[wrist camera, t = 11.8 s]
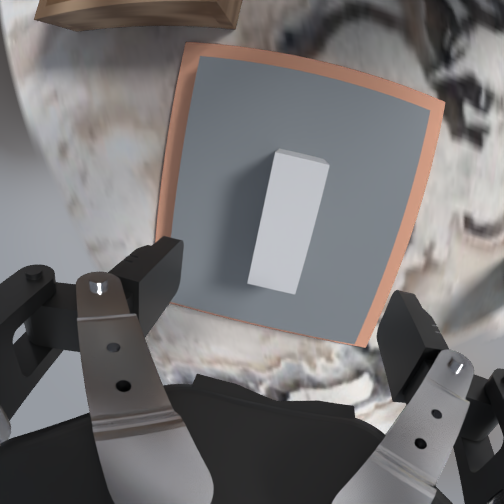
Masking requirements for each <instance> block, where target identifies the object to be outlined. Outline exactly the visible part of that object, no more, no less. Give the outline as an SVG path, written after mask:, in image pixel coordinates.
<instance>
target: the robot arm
mask: <svg viewBox="0 0 504 504" xmlns="http://www.w3.org/2000/svg"><path fill="white" fill-rule="evenodd" d="M183 250H184V242H183V240H179V239H175V238H171V237H167V236H163V237H161V238H160V239H159V240H158V241H157V242H156V243H154V244H153V245H152V246H150V245H146V246H144V247H141V248H138V249H136V250H135V251H133V252H132V253H131V254H130V256H127V257H126V258H125V259H124V261H123V260H122V261H121V262H120V263H119V264H118V265H116V266H115V267H114V268H113V269H112V270H110V271H109V272H108V273H107V272H91V273H87V274H85V275H83V276H81V277H80V278H79V279H78V280H77V282H76V284H66V283H58V282H56V281H55V273H54V270H53V269H52V268H50V267H48V266H45V265H30V266H26V267H24V268H22V269H20V270H18V271H17V272H16V273H15V274H13V275H12V276H10V277H9V278H8V279H6V280H5V281H3V282H2V283H1V284H0V504H452V502H450V500H449V499H448V498H447V497H446V496H445V495H444V494H442V492H441V491H440V490H439V489H438V488H437V487H436V483H437V480H438V478H439V476H440V474H441V472H442V470H443V468H444V466H445V464H446V462H447V460H448V457H449V455H450V453H451V451H452V448H454V452H455V457H456V461H457V466H458V470H459V475H460V480H461V485H462V490H463V496H464V502H465V504H504V440H503V444H502V447H501V449H500V450H499V451H498V452H497V453H496V454H495V455H494V452H493V449H492V446H491V443H490V440H489V437H488V435H489V433H490V432H491V431H492V430H493V429H494V428H495V427H496V425H497V424H498V423H499V425H500V427H501V430H502V433H503V436H504V369H496V370H495V371H494V372H493V374H492V375H491V376H490V378H489V379H485V378H483V377H479V376H477V375H474V367H473V365H472V363H471V362H470V361H469V359H467V358H466V357H465V356H464V355H462V354H461V353H459V352H456V351H453V350H449V348H448V346H447V344H446V342H445V340H444V338H443V337H442V335H441V333H440V331H439V329H438V327H437V326H436V324H435V322H434V320H433V318H432V317H431V316H430V315H429V314H428V313H427V312H426V311H425V310H424V309H423V308H422V306H421V305H420V303H419V301H418V299H417V298H416V296H415V294H412V293H408V292H403V291H399V290H396V291H395V292H394V293H393V294H392V296H391V299H390V301H389V304H388V306H387V308H386V311H385V313H384V315H383V318H382V320H381V322H380V324H379V327H378V331H377V342H378V345H379V349H380V352H381V356H382V360H383V364H384V368H385V372H386V376H387V380H388V384H389V388H390V392H391V396H392V400H393V402H402V403H406V407H405V408H404V409H403V411H402V412H401V414H400V415H399V416H398V418H397V419H396V421H395V422H394V423H393V425H392V426H391V428H390V429H389V430H388V432H387V433H386V434H384V433H382V432H381V431H380V430H378V429H377V428H376V427H374V426H372V425H370V424H369V423H367V422H365V421H362V420H360V419H357V418H355V412H354V406H350V405H343V404H336V403H329V402H323V401H276V400H272V399H270V398H267V397H265V396H263V395H260V394H258V393H256V392H253V391H251V390H249V389H246V388H244V387H242V386H240V385H237V384H234V383H230V382H226V381H222V380H219V379H215V378H211V377H207V376H204V375H200V374H197V375H196V377H195V380H194V382H193V384H171V385H164V386H163V384H162V382H161V380H160V377H159V374H158V372H157V369H156V367H155V364H154V362H153V359H152V357H151V354H150V351H149V349H148V346H147V343H146V340H145V337H146V335H147V334H148V332H149V331H150V330H151V328H152V327H153V325H154V324H155V323H156V321H157V320H158V318H159V317H160V316H161V314H162V313H163V311H164V310H165V309H166V307H167V306H168V304H169V303H170V302H171V300H172V299H173V297H174V296H175V295H176V293H177V291H178V288H179V285H180V280H181V270H182V260H183ZM22 323H24V324H25V328H26V332H25V333H24V334H23V335H22V336H21V337H20V338H19V339H18V340H17V341H16V342H15V343H14V344H13V343H12V341H13V335H14V333H15V331H16V330H17V329H18V327H20V326H21V325H22ZM63 350H69V351H77V352H80V354H81V362H82V369H83V376H84V383H85V389H86V394H87V400H88V406H89V411H90V412H89V413H87V414H84V415H81V416H78V417H76V418H73V419H70V420H67V421H64V422H61V423H59V424H55V425H52V426H49V427H46V428H43V429H40V430H37V431H34V432H31V433H27V434H24V435H21V436H17V437H14V438H11V439H9V437H10V434H11V424H10V419H11V418H12V416H13V415H14V414H15V412H16V411H17V410H18V408H19V407H20V406H21V404H22V403H23V401H24V400H25V399H26V397H27V396H28V395H29V393H30V392H31V391H32V389H33V388H34V387H35V386H36V384H37V383H38V382H39V380H40V379H41V378H42V376H43V375H44V374H45V372H46V371H47V370H48V369H49V367H50V366H51V365H52V364H53V362H54V361H55V360H56V359H57V358H58V356H59V355H60V354H61V353H62V351H63ZM8 439H9V440H8Z"/></svg>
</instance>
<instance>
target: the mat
mask: <svg viewBox="0 0 504 504" xmlns="http://www.w3.org/2000/svg"><path fill="white" fill-rule="evenodd" d="M200 56H206V57H216V58H225V59H234V60H241V61H248V62H255V63H261V64H267V65H273V66H279V67H284V68H289V69H294V70H299V71H303V72H308V73H312V74H317V75H321V76H325V77H329V78H333V79H337V80H341V81H344V82H348V83H351V84H355V85H358V86H362V87H365V88H368V89H372V90H375V91H378V92H381V93H384V94H387V95H390V96H393V97H396V98H399V99H402V100H404V101H407V102H410V103H413V104H415V105H418V106H420V107H423V108H426V109H428V110H430V115H429V120H428V124H427V129H426V134H425V138H424V142H423V147H422V151H421V155H420V159H419V163H418V167H417V171H416V174H415V178H414V182H413V185H412V189H411V192H410V196H409V199H408V203H407V206H406V209H405V213H404V216H403V219H402V222H401V225H400V228H399V231H398V234H397V237H396V240H395V243H394V246H393V249H392V252H391V255H390V258H389V261H388V263H387V266H386V269H385V271H384V274H383V277H382V279H381V282H380V285H379V287H378V290H377V292H376V295H375V297H374V300H373V302H372V305H371V307H370V310H369V312H368V315H367V317H366V319H365V322H364V324H363V326H362V329H361V331H360V333H359V335H358V338H357V340H356V342H355V344H349V343H344V342H338V341H333V340H328V339H323V338H318V337H313V336H309V335H304V334H299V333H294V332H290V331H285V330H281V329H276V328H272V327H267V326H263V325H259V324H255V323H250V322H246V321H242V320H238V319H234V318H230V317H226V316H222V315H218V314H214V313H210V312H206V311H203V310H199V309H195V308H191V307H188V306H184V305H180V304H177V303H173V302H170V303H172V304H175V305H179V306H183V307H186V308H190V309H194V310H197V311H201V312H205V313H209V314H213V315H217V316H221V317H224V318H228V319H233V320H237V321H241V322H245V323H249V324H253V325H258V326H262V327H266V328H271V329H275V330H279V331H284V332H289V333H293V334H298V335H303V336H307V337H312V338H317V339H322V340H327V341H332V342H338V343H343V344H348V345H354V346H359V347H365V348H366V345H367V343H368V341H369V339H370V337H371V335H372V333H373V330H374V328H375V326H376V324H377V321H378V319H379V317H380V314H381V312H382V310H383V307H384V305H385V303H386V300H387V298H388V295H389V293H390V290H391V288H392V285H393V283H394V280H395V278H396V275H397V273H398V270H399V267H400V265H401V262H402V259H403V256H404V254H405V251H406V248H407V245H408V242H409V239H410V236H411V233H412V230H413V227H414V224H415V221H416V218H417V215H418V212H419V209H420V205H421V202H422V199H423V195H424V192H425V188H426V185H427V181H428V177H429V173H430V170H431V166H432V162H433V158H434V154H435V150H436V145H437V141H438V136H439V132H440V127H441V122H442V117H443V112H444V107H445V102H444V101H441V100H439V99H437V98H434V97H432V96H429V95H427V94H424V93H422V92H419V91H417V90H414V89H411V88H409V87H406V86H403V85H400V84H398V83H395V82H392V81H389V80H386V79H383V78H380V77H377V76H374V75H370V74H367V73H364V72H360V71H357V70H353V69H350V68H346V67H342V66H339V65H335V64H331V63H327V62H323V61H318V60H314V59H310V58H305V57H300V56H295V55H290V54H285V53H279V52H273V51H267V50H261V49H254V48H247V47H239V46H231V45H221V44H210V43H196V42H186V43H185V48H184V52H183V57H182V61H181V66H180V71H179V76H178V81H177V86H176V91H175V96H174V102H173V107H172V113H171V119H170V125H169V131H168V138H167V144H166V151H165V158H164V165H163V173H162V181H161V189H160V198H159V207H158V217H157V227H156V239H155V243H156V242H157V241H158V240H159V239H160V238H161V237H163V236H167V237H171V233H172V224H173V215H174V207H175V199H176V191H177V184H178V177H179V170H180V163H181V156H182V150H183V144H184V138H185V132H186V126H187V120H188V115H189V109H190V104H191V98H192V93H193V88H194V83H195V78H196V73H197V69H198V64H199V59H200Z"/></svg>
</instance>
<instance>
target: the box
mask: <svg viewBox="0 0 504 504" xmlns="http://www.w3.org/2000/svg"><path fill="white" fill-rule="evenodd" d="M242 1H243V0H40V1H39V4H38V7H37V11H36V14H35V18H34V20H37V21H41V22H45V23H48V24H52V25H56V26H59V27H63V28H66V29H70V30H73V31H76V32H77V31H85V30H94V29H103V28H115V27H132V26H197V27H213V28H226V29H236V25H237V21H238V17H239V13H240V9H241V5H242Z"/></svg>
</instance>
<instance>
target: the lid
mask: <svg viewBox="0 0 504 504" xmlns="http://www.w3.org/2000/svg"><path fill="white" fill-rule="evenodd" d="M429 115H430V110H428V109H426V108H423V107H420V106H418V105H415V104H413V103H410V102H407V101H404V100H402V99H399V98H396V97H393V96H390V95H387V94H384V93H381V92H378V91H375V90H372V89H368V88H365V87H362V86H358V85H355V84H351V83H348V82H344V81H341V80H337V79H333V78H329V77H325V76H321V75H317V74H312V73H308V72H303V71H299V70H294V69H289V68H284V67H279V66H273V65H267V64H261V63H255V62H248V61H241V60H234V59H225V58H216V57H206V56H200V59H199V64H198V69H197V73H196V78H195V83H194V88H193V93H192V98H191V104H190V109H189V115H188V120H187V126H186V132H185V138H184V144H183V150H182V156H181V163H180V170H179V177H178V184H177V191H176V199H175V207H174V215H173V224H172V233H171V238H175V239H179V240H183V242H184V250H183V260H182V270H181V280H180V285H179V288H178V291H177V293H176V295H175V296H174V297H173V299H172V300H171V302H173V303H177V304H180V305H184V306H188V307H191V308H195V309H199V310H203V311H206V312H210V313H214V314H218V315H222V316H226V317H230V318H234V319H238V320H242V321H246V322H250V323H255V324H259V325H263V326H267V327H272V328H276V329H281V330H285V331H290V332H294V333H299V334H304V335H309V336H313V337H318V338H323V339H328V340H333V341H338V342H344V343H349V344H355V342H356V340H357V338H358V335H359V333H360V331H361V329H362V326H363V324H364V322H365V319H366V317H367V315H368V312H369V310H370V307H371V305H372V302H373V300H374V297H375V295H376V292H377V290H378V287H379V285H380V282H381V279H382V277H383V274H384V271H385V269H386V266H387V263H388V261H389V258H390V255H391V252H392V249H393V246H394V243H395V240H396V237H397V234H398V231H399V228H400V225H401V222H402V219H403V216H404V213H405V209H406V206H407V203H408V199H409V196H410V192H411V189H412V185H413V182H414V178H415V174H416V171H417V167H418V163H419V159H420V155H421V151H422V147H423V142H424V138H425V134H426V129H427V124H428V120H429Z"/></svg>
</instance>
